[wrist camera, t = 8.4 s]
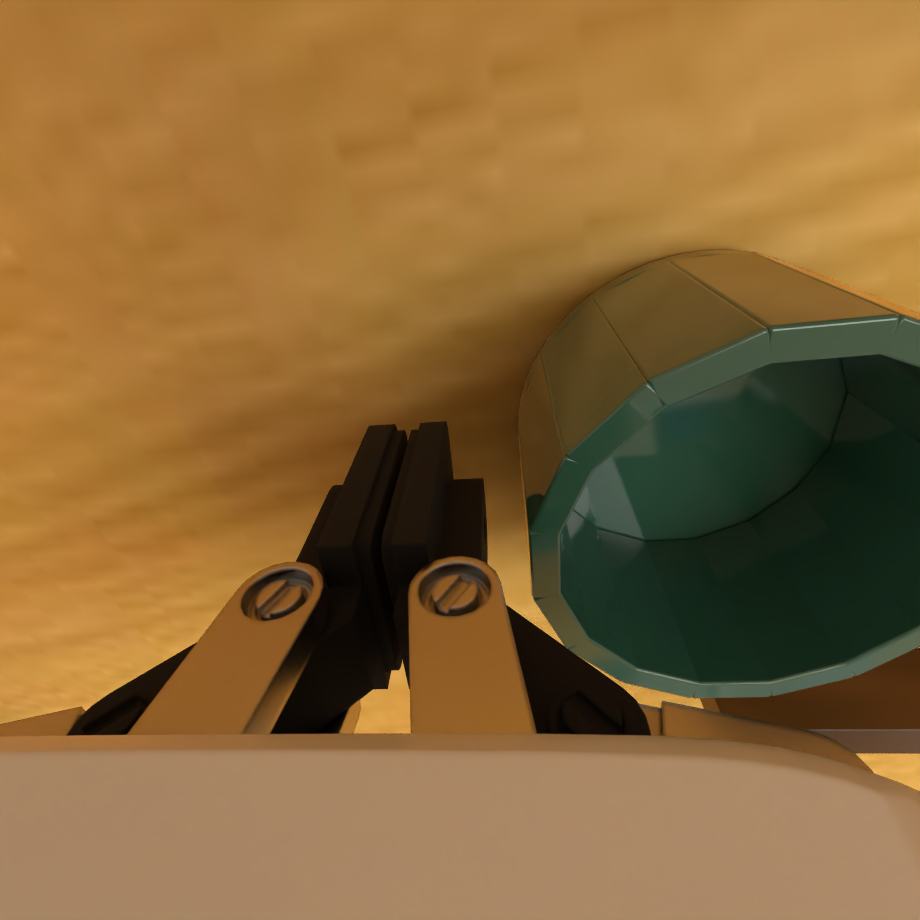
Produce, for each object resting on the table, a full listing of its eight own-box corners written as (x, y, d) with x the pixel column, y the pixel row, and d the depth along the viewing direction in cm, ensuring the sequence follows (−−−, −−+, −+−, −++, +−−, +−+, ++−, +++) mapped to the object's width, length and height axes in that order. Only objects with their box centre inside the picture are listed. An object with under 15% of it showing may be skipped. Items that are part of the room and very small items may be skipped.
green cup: (454, 436, 12) (437, 572, 8) (710, 158, 9) (878, 170, 5) (657, 581, 14) (718, 742, 11) (923, 401, 11) (1154, 539, 7)
